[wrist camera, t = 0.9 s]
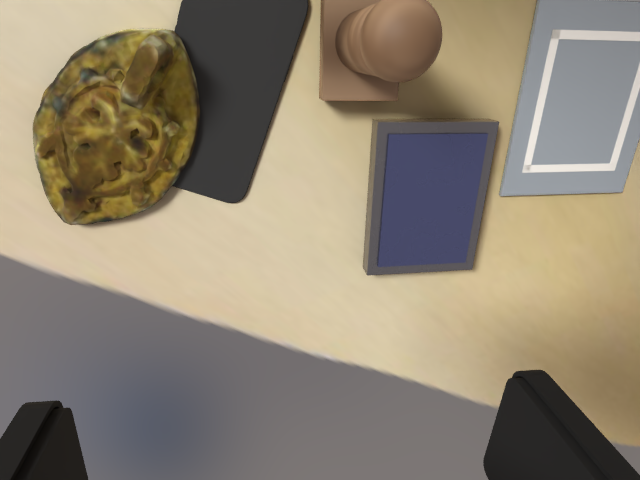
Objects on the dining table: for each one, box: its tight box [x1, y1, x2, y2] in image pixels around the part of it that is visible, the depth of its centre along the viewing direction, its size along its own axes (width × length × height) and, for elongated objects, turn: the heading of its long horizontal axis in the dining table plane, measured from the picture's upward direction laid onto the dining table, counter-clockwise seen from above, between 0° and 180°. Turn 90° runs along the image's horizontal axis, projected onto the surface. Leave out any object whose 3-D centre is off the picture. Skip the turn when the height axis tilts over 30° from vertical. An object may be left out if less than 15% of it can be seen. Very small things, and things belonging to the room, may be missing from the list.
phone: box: [172, 0, 308, 203], centre depth 29 cm, size 7×1×15 cm
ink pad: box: [363, 119, 499, 275], centre depth 33 cm, size 12×9×2 cm
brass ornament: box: [33, 28, 200, 225], centre depth 27 cm, size 9×5×15 cm
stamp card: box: [499, 0, 640, 196], centre depth 33 cm, size 14×11×1 cm
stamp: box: [319, 0, 442, 101], centre depth 24 cm, size 7×5×11 cm
